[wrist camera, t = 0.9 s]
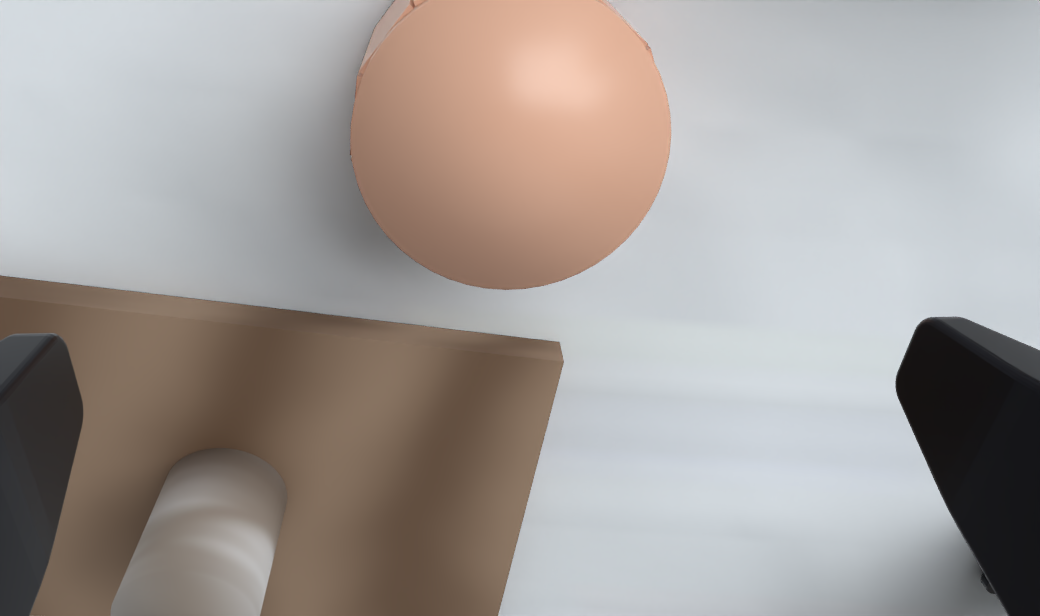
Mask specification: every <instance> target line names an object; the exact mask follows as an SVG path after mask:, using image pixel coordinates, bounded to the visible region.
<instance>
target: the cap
mask: <svg viewBox="0 0 1040 616" xmlns="http://www.w3.org/2000/svg"><path fill="white" fill-rule="evenodd" d="M670 141H671V121H670V111H669V105H668V100H667V94H666V91H665V88H664V85H663V82H662V79H661V76H660V73H659V71H658V69H657V67H656V65H655V63H654V60H653V56H652V52H651V48H650V47H649V46H648V44H647V43H646V41H645V40H644V39H643V38H642V37H641V36H640V35H639V34H638V33H637V32H636V31H635V30H634V29H633V28H632V27H631V25H630V24H629V23H628V22H627V21H626V20H625V19H624V18H623V17H622V16H621V15H620V14H619V13H618V12H617V11H616V10H615V8H614V7H613V6H612V5H611V4H610V3H609V2H608V1H607V0H395V1H394V2H393V3H392V5H391V6H390V7H389V9H388V10H387V11H386V13H385V14H384V15H383V17H382V18H381V20H380V21H379V22H378V24H377V25H376V26H375V28H374V31H373V34H372V36H371V39H370V42H369V45H368V47H367V50H366V53H365V56H364V58H363V61H362V64H361V67H360V69H359V72H358V75H357V82H356V93H355V102H354V107H353V114H352V120H351V138H350V146H351V149H350V155H352V157H351V161H352V163H353V168H354V172H355V176H356V180H357V184H358V187H359V189H360V192H361V194H362V196H363V199H364V201H365V204H366V205H367V207H368V209H369V211H370V212H371V214H372V216H373V218H374V219H375V221H376V222H377V224H378V225H379V226H380V227H381V229H382V230H383V231H384V233H385V234H386V235H387V236H388V237H389V238H390V239H391V241H392V242H393V243H394V244H395V245H396V246H397V247H398V248H399V249H400V250H402V251H403V252H404V253H405V254H407V255H408V256H409V257H411V258H412V259H413V260H414V261H416V262H417V263H419V264H421V265H422V266H424V267H426V268H427V269H429V270H431V271H432V272H434V273H437V274H439V275H441V276H443V277H446V278H448V279H450V280H454V281H457V282H460V283H463V284H466V285H471V286H476V287H482V288H488V289H503V290H509V289H526V288H532V287H539V286H544V285H548V284H551V283H555V282H558V281H562V280H564V279H567V278H569V277H572V276H574V275H576V274H579V273H581V272H583V271H584V270H586V269H588V268H590V267H592V266H593V265H595V264H597V263H598V262H600V261H601V260H602V259H604V258H605V257H607V256H608V255H610V254H611V253H612V252H613V251H614V250H615V249H617V248H618V247H619V246H620V245H621V244H622V243H623V242H624V241H625V240H626V239H627V238H628V237H629V236H630V235H631V234H632V232H633V231H634V230H635V229H636V228H637V227H638V226H639V224H640V223H641V221H642V220H643V218H644V217H645V215H646V214H647V212H648V211H649V209H650V207H651V205H652V203H653V202H654V200H655V198H656V196H657V194H658V192H659V189H660V186H661V183H662V181H663V178H664V175H665V171H666V167H667V163H668V158H669V152H670Z"/></svg>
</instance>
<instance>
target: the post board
mask: <svg viewBox="0 0 1040 616" xmlns="http://www.w3.org/2000/svg"><path fill="white" fill-rule="evenodd" d="M29 333H55V334H57V335H59V336H60V337H62V338H63V340H64V341H65V343H66V345H67V347H68V351H69V354H70V358H71V361H72V365H73V368H74V372H75V376H76V379H77V383H78V386H79V390H80V393H81V397H82V401H83V424H82V429H81V433H80V437H79V441H78V445H77V450H76V454H75V458H74V462H73V466H72V470H71V475H70V479H69V483H68V487H67V491H66V495H65V500H64V504H63V508H62V512H61V516H60V520H59V525H58V529H57V533H56V537H55V541H54V545H53V548H52V552H51V556H50V560H49V563H48V566H47V569H46V572H45V575H44V578H43V581H42V584H41V586H40V589H39V592H38V595H37V597H36V600H35V602H34V605H33V608H32V610H31V613H30V616H498V613H499V609H500V605H501V601H502V598H503V594H504V590H505V586H506V582H507V578H508V574H509V571H510V567H511V563H512V559H513V555H514V551H515V547H516V544H517V540H518V536H519V532H520V528H521V524H522V521H523V517H524V513H525V509H526V505H527V501H528V497H529V494H530V490H531V486H532V482H533V478H534V474H535V470H536V467H537V463H538V459H539V455H540V451H541V447H542V444H543V440H544V436H545V432H546V428H547V424H548V420H549V417H550V413H551V409H552V405H553V401H554V397H555V393H556V390H557V386H558V382H559V378H560V374H561V370H562V367H563V363H564V361H563V356H562V352H561V347H560V342H553V341H545V340H536V339H528V338H520V337H511V336H503V335H494V334H486V333H478V332H469V331H461V330H452V329H444V328H435V327H427V326H419V325H410V324H402V323H393V322H385V321H377V320H368V319H360V318H351V317H343V316H335V315H326V314H318V313H309V312H301V311H292V310H284V309H276V308H267V307H259V306H250V305H242V304H234V303H225V302H217V301H208V300H200V299H191V298H183V297H175V296H166V295H158V294H149V293H141V292H133V291H124V290H116V289H107V288H99V287H90V286H82V285H74V284H65V283H57V282H48V281H40V280H32V279H23V278H15V277H6V276H0V340H2V339H4V338H6V337H8V336H10V335H13V334H29Z"/></svg>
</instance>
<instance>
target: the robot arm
mask: <svg viewBox="0 0 1040 616" xmlns="http://www.w3.org/2000/svg"><path fill="white" fill-rule="evenodd" d="M896 392H897V396H898V399H899V401H900V403H901V406H902V408H903V410H904V412H905V415H906V417H907V419H908V421H909V424H910V426H911V428H912V430H913V433H914V435H915V437H916V439H917V442H918V444H919V446H920V448H921V451H922V453H923V455H924V457H925V460H926V462H927V464H928V466H929V469H930V471H931V473H932V475H933V478H934V480H935V482H936V484H937V487H938V489H939V491H940V493H941V495H942V498H943V500H944V502H945V504H946V506H947V508H948V510H949V512H950V514H951V516H952V517H953V519H954V521H955V523H956V525H957V527H958V529H959V530H960V532H961V534H962V536H963V537H964V539H965V541H966V543H967V544H968V546H969V548H970V550H971V551H972V553H973V555H974V557H975V558H976V560H977V562H978V564H979V565H980V567H981V569H982V571H983V572H984V573H983V575H982V577H981V582H982V583H983V585H984V586H985V588H986V589H987V590H988V591H989V592H990V593H993V594H996V595H997V597H998V599H999V600H1000V602H1001V604H1002V606H1003V607H1004V609H1005V611H1006V613H1007V614H1008V616H1040V350H1038V349H1035V348H1033V347H1031V346H1028V345H1026V344H1024V343H1021V342H1019V341H1017V340H1014V339H1012V338H1010V337H1007V336H1005V335H1003V334H1000V333H998V332H996V331H993V330H991V329H989V328H986V327H984V326H982V325H979V324H977V323H974V322H972V321H970V320H967V319H965V318H961V317H930V318H927V319H924V320H923V321H921V322H920V323H919V325H918V326H917V327H916V329H915V331H914V334H913V336H912V339H911V341H910V343H909V346H908V348H907V351H906V353H905V355H904V358H903V360H902V363H901V365H900V367H899V370H898V372H897V376H896ZM82 424H83V401H82V397H81V393H80V390H79V386H78V383H77V379H76V376H75V372H74V368H73V365H72V361H71V358H70V354H69V351H68V347H67V345H66V343H65V341H64V340H63V338H62V337H60V336H59V335H57V334H55V333H29V334H13V335H10V336H8V337H6V338H4V339H2V340H0V616H30V613H31V610H32V608H33V605H34V602H35V600H36V597H37V595H38V592H39V589H40V586H41V584H42V581H43V578H44V575H45V572H46V569H47V566H48V563H49V560H50V556H51V552H52V548H53V545H54V541H55V537H56V533H57V529H58V525H59V520H60V516H61V512H62V508H63V504H64V500H65V495H66V491H67V487H68V483H69V479H70V475H71V470H72V466H73V462H74V458H75V454H76V450H77V445H78V441H79V437H80V433H81V429H82Z"/></svg>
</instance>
